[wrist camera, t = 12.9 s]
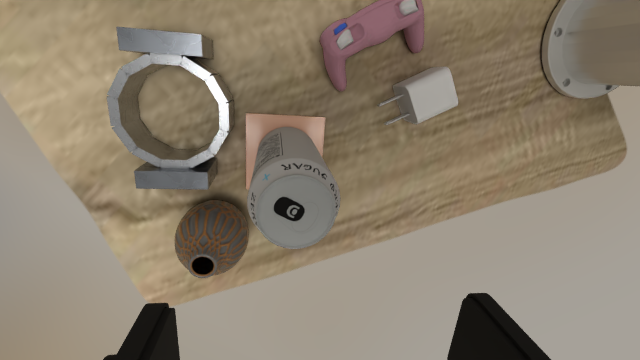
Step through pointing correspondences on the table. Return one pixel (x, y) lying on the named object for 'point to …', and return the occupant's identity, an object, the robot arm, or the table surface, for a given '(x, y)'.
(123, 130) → the ring holder
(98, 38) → the table surface
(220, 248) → the vase
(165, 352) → the robot arm
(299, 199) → the energy drink can
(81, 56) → the table surface
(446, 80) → the usb wall charger
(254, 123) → the coaster
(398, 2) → the video game controller
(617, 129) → the table surface
